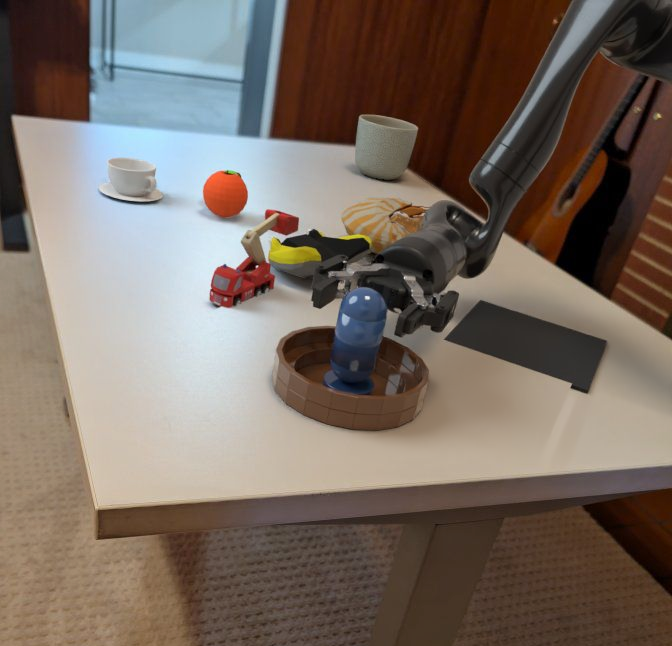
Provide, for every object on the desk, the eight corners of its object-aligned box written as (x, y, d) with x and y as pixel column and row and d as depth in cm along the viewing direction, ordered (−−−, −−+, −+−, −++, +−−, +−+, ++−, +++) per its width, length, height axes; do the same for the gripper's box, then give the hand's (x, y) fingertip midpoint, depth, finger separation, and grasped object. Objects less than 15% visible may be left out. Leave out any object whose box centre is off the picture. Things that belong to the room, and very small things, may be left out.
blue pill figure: (380, 388, 78) (403, 290, 72) (360, 408, 73) (383, 305, 68) (334, 371, 79) (353, 273, 73) (313, 390, 75) (331, 288, 69)
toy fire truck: (205, 304, 89) (212, 223, 84) (269, 278, 100) (278, 205, 95) (228, 313, 88) (236, 232, 83) (290, 286, 99) (301, 213, 94)
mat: (606, 343, 101) (607, 340, 101) (587, 393, 87) (588, 390, 87) (479, 302, 106) (480, 299, 106) (441, 343, 92) (442, 340, 91)
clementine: (220, 205, 123) (224, 160, 120) (256, 217, 121) (262, 172, 118) (192, 214, 117) (195, 167, 113) (230, 226, 115) (235, 179, 111)
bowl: (438, 391, 81) (447, 358, 79) (388, 454, 68) (397, 416, 66) (312, 346, 85) (318, 313, 83) (243, 397, 72) (248, 360, 70)
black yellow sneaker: (372, 275, 108) (319, 251, 112) (380, 237, 105) (325, 215, 109) (305, 295, 97) (249, 268, 101) (312, 254, 94) (254, 228, 99)
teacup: (84, 189, 118) (84, 158, 116) (132, 182, 126) (133, 153, 123) (130, 207, 114) (131, 176, 112) (176, 199, 122) (178, 170, 119)
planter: (371, 184, 154) (382, 127, 148) (338, 166, 162) (347, 112, 156) (418, 184, 160) (430, 131, 154) (384, 167, 168) (394, 116, 163)
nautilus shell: (435, 242, 129) (476, 281, 118) (319, 227, 120) (352, 268, 109) (450, 196, 124) (495, 232, 113) (331, 178, 115) (367, 215, 104)
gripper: (363, 219, 83) (296, 251, 70) (485, 256, 80) (438, 298, 67) (350, 283, 87) (285, 325, 74) (466, 321, 84) (418, 373, 70)
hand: (357, 312), depth 70 cm, fingers open, 8 cm apart
